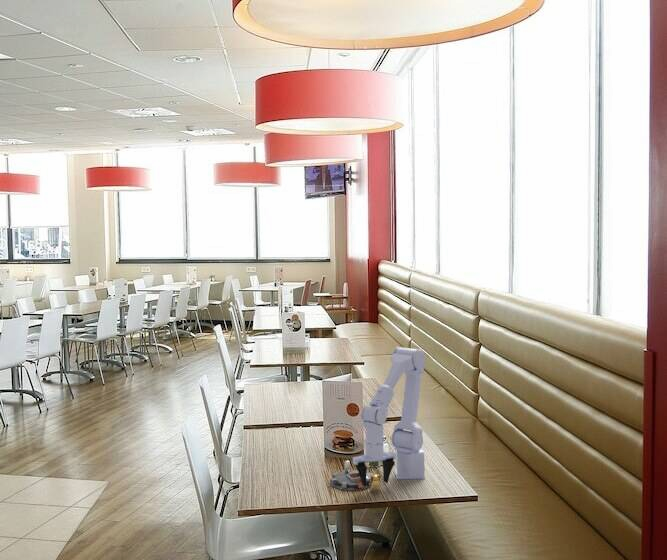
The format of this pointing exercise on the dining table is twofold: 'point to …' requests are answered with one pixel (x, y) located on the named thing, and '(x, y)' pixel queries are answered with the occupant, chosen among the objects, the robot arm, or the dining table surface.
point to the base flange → (349, 487)
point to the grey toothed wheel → (349, 477)
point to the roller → (375, 483)
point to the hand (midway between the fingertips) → (374, 483)
